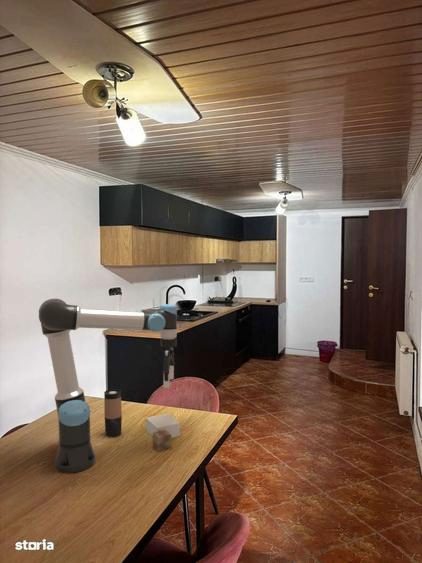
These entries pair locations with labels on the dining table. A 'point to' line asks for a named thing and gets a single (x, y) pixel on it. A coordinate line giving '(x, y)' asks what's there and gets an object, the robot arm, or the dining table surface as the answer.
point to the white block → (163, 425)
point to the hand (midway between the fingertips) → (168, 383)
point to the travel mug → (112, 412)
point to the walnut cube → (162, 440)
